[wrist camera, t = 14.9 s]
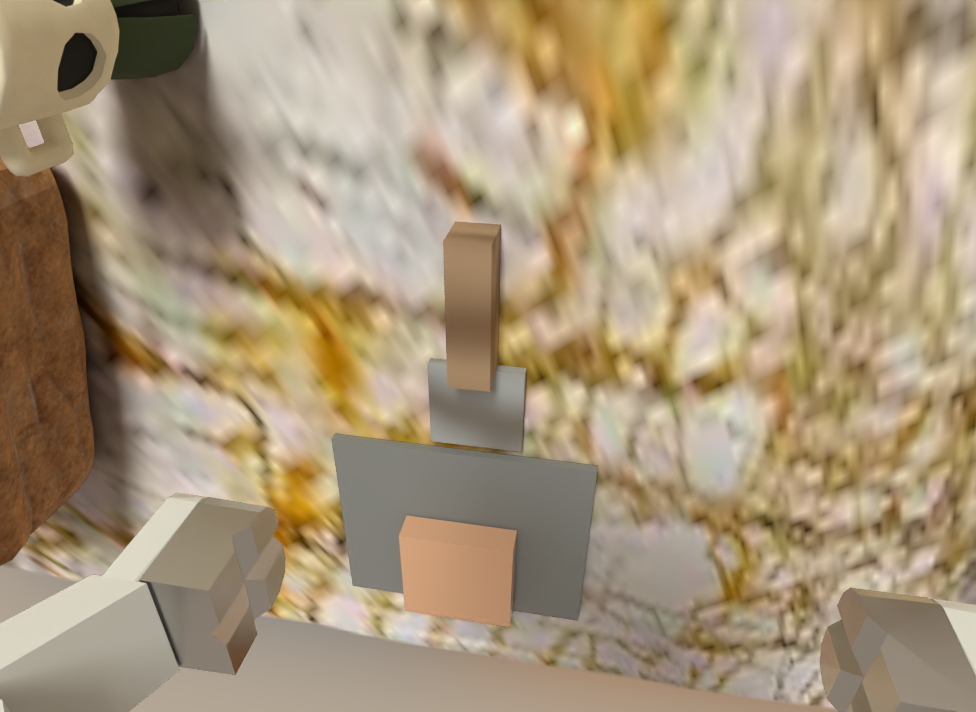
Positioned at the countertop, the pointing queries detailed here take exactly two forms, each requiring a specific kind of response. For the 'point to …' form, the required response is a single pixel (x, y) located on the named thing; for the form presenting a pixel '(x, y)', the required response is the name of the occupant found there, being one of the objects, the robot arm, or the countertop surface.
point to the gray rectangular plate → (468, 512)
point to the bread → (38, 361)
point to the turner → (474, 349)
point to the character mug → (76, 64)
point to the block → (458, 570)
